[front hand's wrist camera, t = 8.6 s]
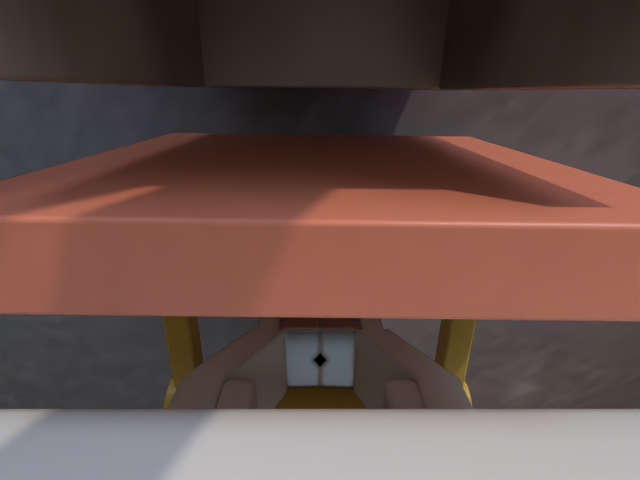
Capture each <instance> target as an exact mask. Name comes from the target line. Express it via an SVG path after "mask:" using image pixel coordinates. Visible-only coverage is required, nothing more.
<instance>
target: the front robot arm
mask: <svg viewBox="0 0 640 480" xmlns="http://www.w3.org/2000/svg"><path fill="white" fill-rule="evenodd" d="M287 388H338V389H353V391H354V393H355V394H356V396H357V397H358V398H359V399H360V401H361V402H362V403H363V404H364V406H365V407H366V408H367V409H274V408H275V406H276V405H277V404H278V403H279V401H280V400H281V399H282V398H283V396H284V395H285V394H286V392H287ZM0 480H640V409H473V407H472V405H471V403H470V401H469V399H468V397H467V394H466V392H465V390H464V388H463V386H462V384H461V382H460V380H459V378H458V377H457V376H455V375H454V374H452V373H451V372H450V371H448V370H447V369H445V368H444V367H442V366H441V365H439V364H438V363H437V362H435V361H434V360H432V359H431V358H429V357H428V356H426V355H425V354H424V353H422V352H421V351H419V350H418V349H416V348H415V347H413V346H412V345H411V344H409V343H408V342H406V341H405V340H403V339H402V338H400V337H399V336H398V335H396V334H395V333H393V332H392V331H390V330H389V329H383V325H382V322H381V318H300V317H260V319H259V323H258V326H257V329H251V330H250V331H249V332H247V333H246V334H244V335H243V336H241V337H240V338H238V339H237V340H236V341H234V342H233V343H231V344H230V345H228V346H227V347H225V348H224V349H222V350H221V351H220V352H218V353H217V354H215V355H214V356H212V357H211V358H209V359H208V360H207V361H205V362H204V363H202V364H201V365H199V366H198V367H196V368H195V369H193V370H192V371H191V372H189V373H188V374H186V375H185V376H183V377H182V379H181V381H180V383H179V385H178V387H177V389H176V391H175V393H174V395H173V398H172V400H171V402H170V404H169V406H168V408H167V409H0Z"/></svg>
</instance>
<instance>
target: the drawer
mask: <svg viewBox="0 0 640 480" xmlns="http://www.w3.org/2000/svg"><path fill="white" fill-rule="evenodd" d="M0 80H7V81H36V82H64V83H92V84H121V85H149V86H178V87H238V88H315V89H391V90H554V89H640V0H0ZM0 314H29V315H119V316H162V317H163V323H164V329H165V335H166V341H167V347H168V353H169V359H170V365H171V370H172V376H173V377H172V379H171V381H170V383H169V385H168V388H167V391H166V395H165V401H164V409H167V408H168V406H169V404H170V402H171V400H172V398H173V395H174V393H175V391H176V389H177V387H178V385H179V383H180V381H181V379H182V377H183V376H185V375H186V374H188V373H189V372H191V371H192V370H193V369H195V368H196V367H198V366H199V365H201V364H202V363H203V358H202V350H201V343H200V335H199V327H198V319H197V316H210V317H300V318H390V319H441V325H440V332H439V338H438V345H437V351H436V357H435V362H437V363H438V364H439V365H441V366H442V367H444V368H445V369H447V370H448V371H450V372H451V373H452V374H454V375H455V376H457V377H458V378H459V380H460V382H461V384H462V386H463V388H464V390H465V392H466V394H467V397H468V399H469V401H470V403H471V405H472V401H471V396H470V392H469V389H468V386H467V384H466V382H465V375H466V370H467V365H468V360H469V355H470V350H471V345H472V340H473V335H474V330H475V325H476V320H477V319H481V320H571V321H640V188H638V187H635V186H631V185H628V184H625V183H621V182H618V181H615V180H611V179H608V178H605V177H602V176H598V175H595V174H592V173H588V172H585V171H582V170H578V169H575V168H572V167H568V166H565V165H562V164H559V163H555V162H552V161H549V160H545V159H542V158H539V157H535V156H532V155H529V154H525V153H522V152H519V151H516V150H512V149H509V148H506V147H502V146H499V145H496V144H492V143H489V142H486V141H482V140H479V139H476V138H473V137H460V136H381V135H302V134H223V133H170V134H167V135H163V136H159V137H156V138H152V139H149V140H145V141H142V142H138V143H134V144H131V145H127V146H124V147H120V148H116V149H113V150H109V151H106V152H102V153H99V154H95V155H91V156H88V157H84V158H81V159H77V160H73V161H70V162H66V163H63V164H59V165H56V166H52V167H48V168H45V169H41V170H38V171H34V172H31V173H27V174H23V175H20V176H16V177H13V178H9V179H5V180H2V181H0ZM274 409H367V408H366V407H365V406H364V404H363V403H362V402H361V401H360V399H359V398H358V397H357V396H356V394H355V393H354V391H353V389H338V388H287V392H286V394H285V395H284V396H283V398H282V399H281V400H280V401H279V403H278V404H277V405H276V406H275V408H274Z"/></svg>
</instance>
